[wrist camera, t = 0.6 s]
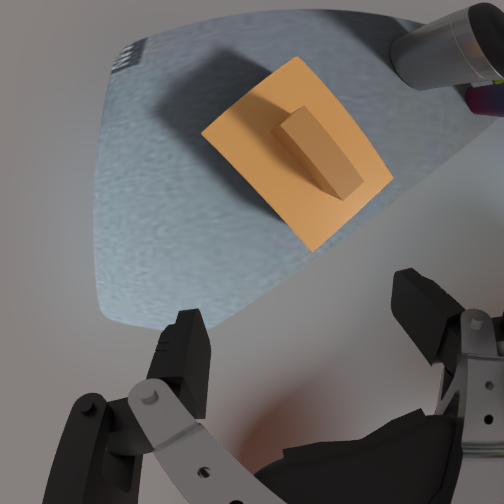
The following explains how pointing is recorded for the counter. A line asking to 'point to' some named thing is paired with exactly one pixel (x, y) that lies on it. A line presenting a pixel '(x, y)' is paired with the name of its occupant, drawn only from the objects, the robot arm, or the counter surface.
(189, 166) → the counter surface
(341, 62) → the counter surface
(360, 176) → the lid
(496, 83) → the soap dispenser
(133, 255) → the counter surface
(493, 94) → the cup
